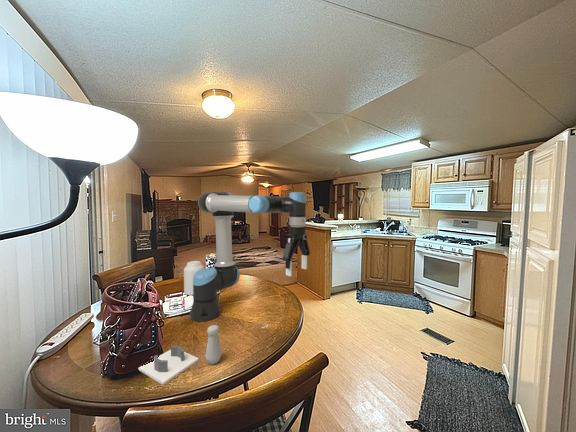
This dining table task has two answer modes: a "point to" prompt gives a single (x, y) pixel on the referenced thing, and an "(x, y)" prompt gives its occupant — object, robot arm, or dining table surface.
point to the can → (190, 275)
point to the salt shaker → (213, 345)
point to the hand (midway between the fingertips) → (296, 272)
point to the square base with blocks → (168, 365)
